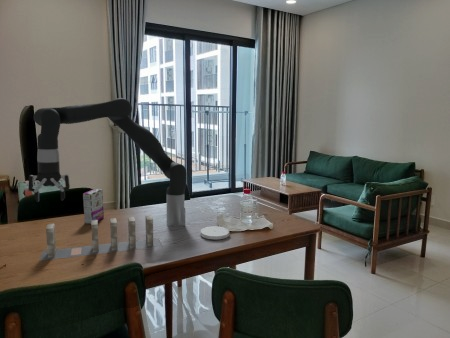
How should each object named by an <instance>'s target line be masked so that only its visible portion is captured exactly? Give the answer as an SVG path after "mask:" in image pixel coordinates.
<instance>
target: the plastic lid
mask: <svg viewBox="0 0 450 338" xmlns="http://www.w3.org/2000/svg"><path fill="white" fill-rule="evenodd" d="M200 236H201V237H203V238H204V239H208V240H222V239H226V238H228V237H229V236H230V230H229V229H228V228H227V227H223V226H215V225H214V226H213V225H212V226H206V227H203V228H201V229H200Z"/></svg>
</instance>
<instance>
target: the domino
mask: <svg viewBox="0 0 450 338" xmlns="http://www.w3.org/2000/svg"><path fill="white" fill-rule="evenodd" d="M55 227H56V226H55V223H48V224H47V225H46V228H45V233H46V234H45V235H46V250H47V252H48V258H51V257H55V254H56V249H57V246H56V245H57V240H56V228H55Z"/></svg>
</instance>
